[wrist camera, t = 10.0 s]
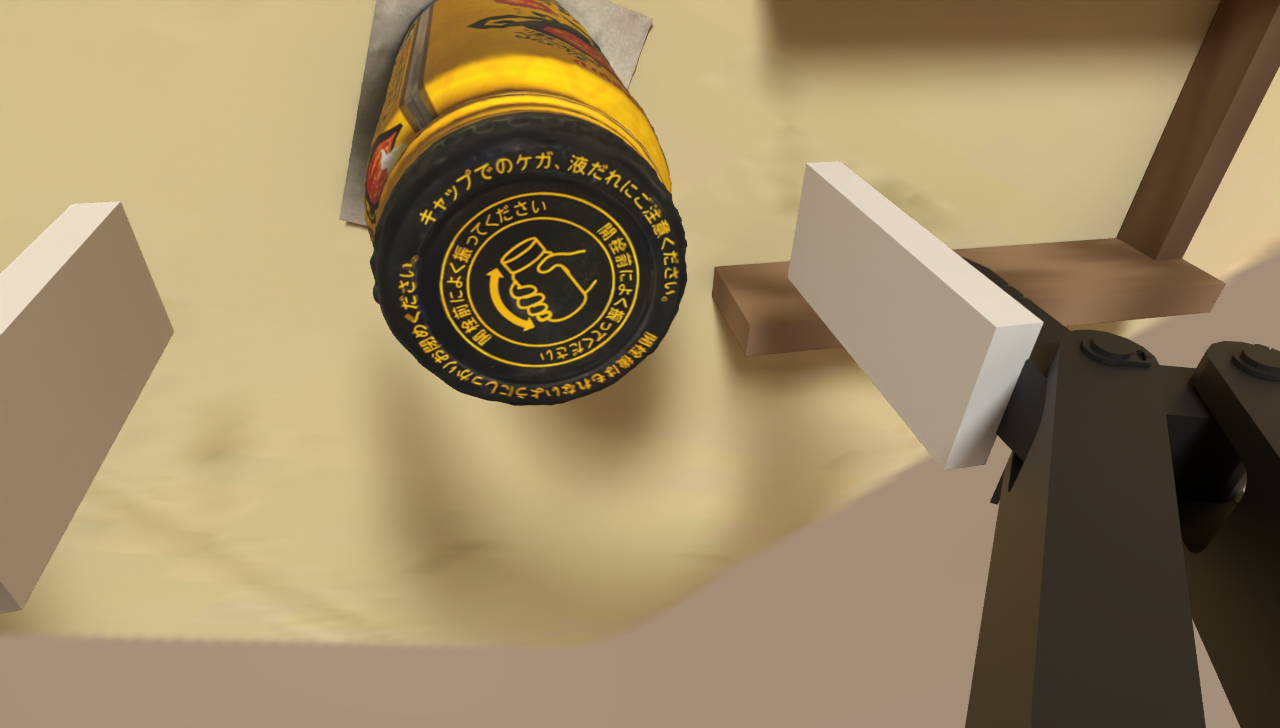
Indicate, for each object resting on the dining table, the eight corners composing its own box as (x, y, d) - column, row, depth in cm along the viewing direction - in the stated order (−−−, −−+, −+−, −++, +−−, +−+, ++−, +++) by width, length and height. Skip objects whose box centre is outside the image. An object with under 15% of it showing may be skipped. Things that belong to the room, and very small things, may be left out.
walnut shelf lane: (712, 295, 27) (746, 356, 24) (754, -147, 19) (813, -147, 16) (1130, 262, 30) (1210, 312, 27) (1311, -128, 22) (1454, -125, 19)
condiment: (652, 17, 21) (811, 158, 11) (564, 269, 25) (626, 530, 15) (390, -86, 18) (312, -14, 9) (340, 215, 22) (250, 488, 13)
